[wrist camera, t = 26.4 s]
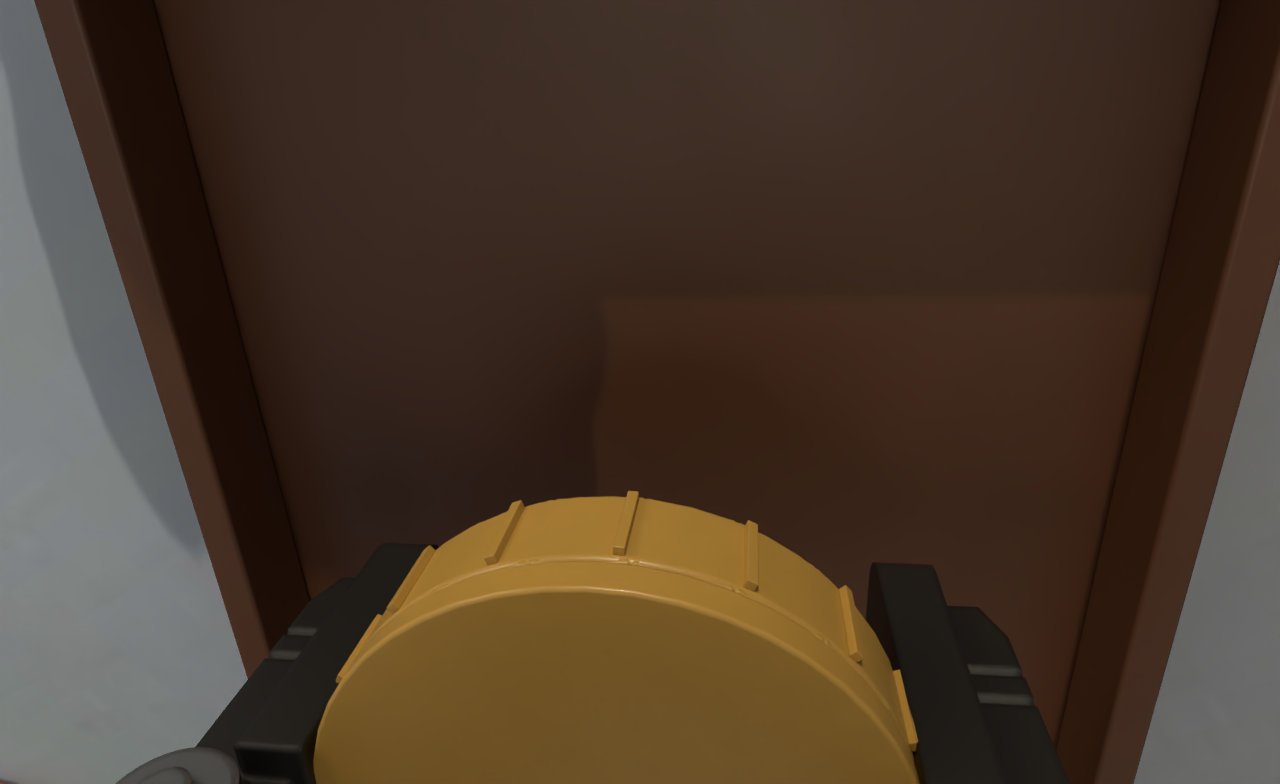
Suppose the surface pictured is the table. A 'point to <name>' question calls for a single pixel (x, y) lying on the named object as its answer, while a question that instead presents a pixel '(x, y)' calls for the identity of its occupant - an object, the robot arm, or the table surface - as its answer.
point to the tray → (706, 286)
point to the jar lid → (616, 661)
